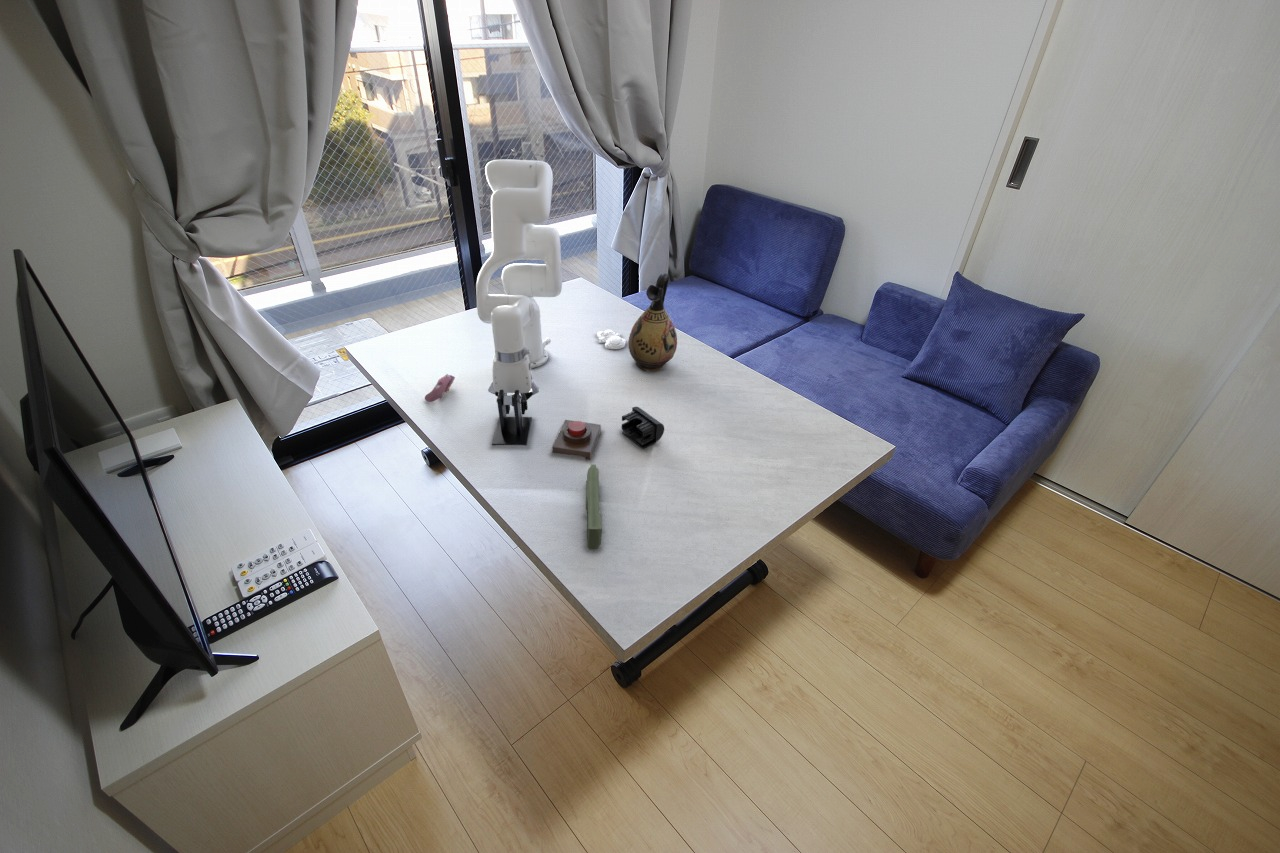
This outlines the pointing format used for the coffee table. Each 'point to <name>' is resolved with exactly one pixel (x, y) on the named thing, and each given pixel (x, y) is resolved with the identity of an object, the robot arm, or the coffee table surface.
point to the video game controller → (440, 388)
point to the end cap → (642, 428)
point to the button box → (577, 440)
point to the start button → (576, 428)
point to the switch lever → (509, 400)
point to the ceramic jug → (653, 331)
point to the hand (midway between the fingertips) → (515, 411)
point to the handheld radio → (593, 509)
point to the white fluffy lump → (611, 339)
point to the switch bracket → (511, 423)
